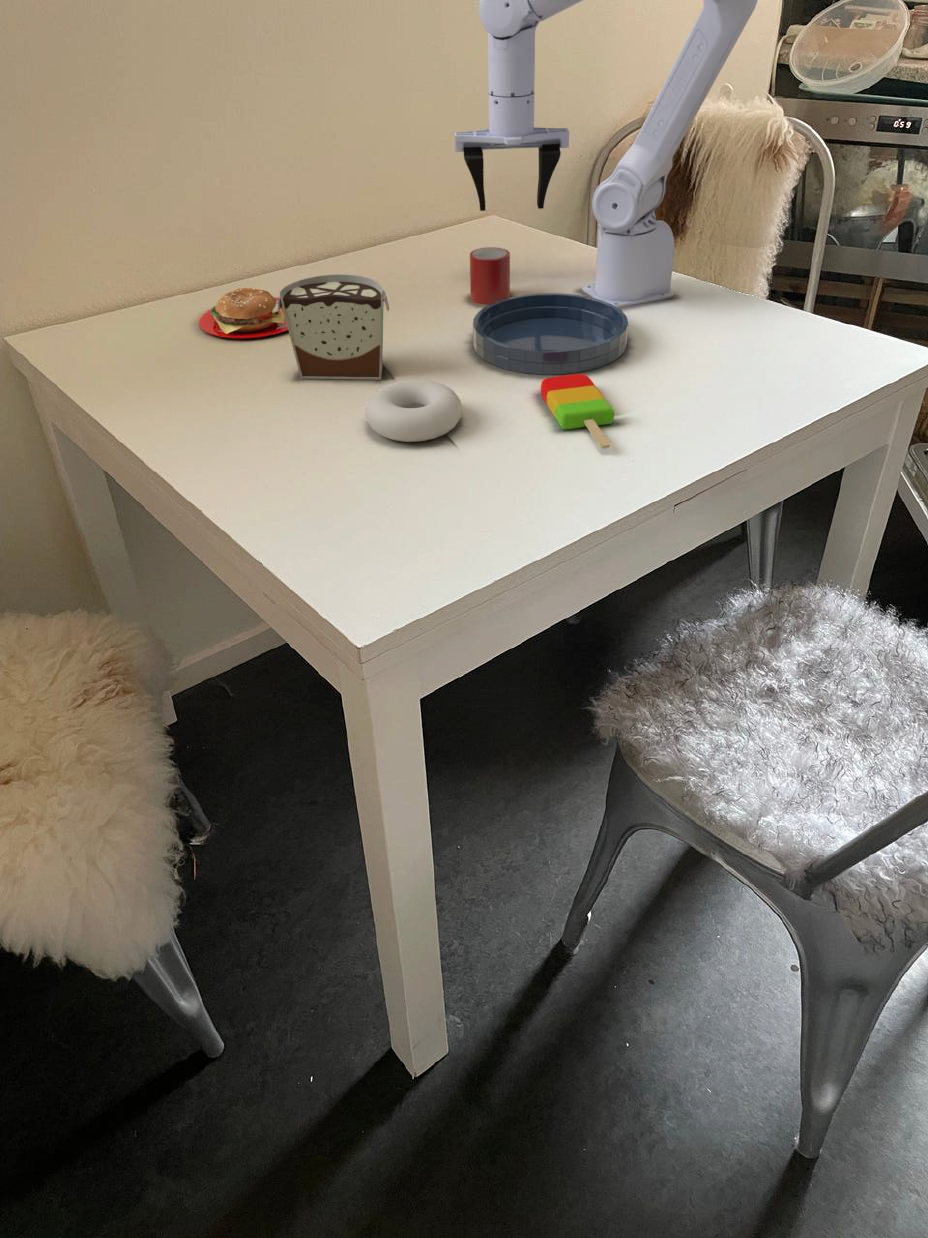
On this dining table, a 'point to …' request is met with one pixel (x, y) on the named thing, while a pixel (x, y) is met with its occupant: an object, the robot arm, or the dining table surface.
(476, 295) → the can
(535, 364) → the dark blue round plate
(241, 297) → the hamburger
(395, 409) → the donut
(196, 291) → the dining table surface
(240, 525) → the dining table surface
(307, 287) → the food container
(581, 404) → the popsicle
